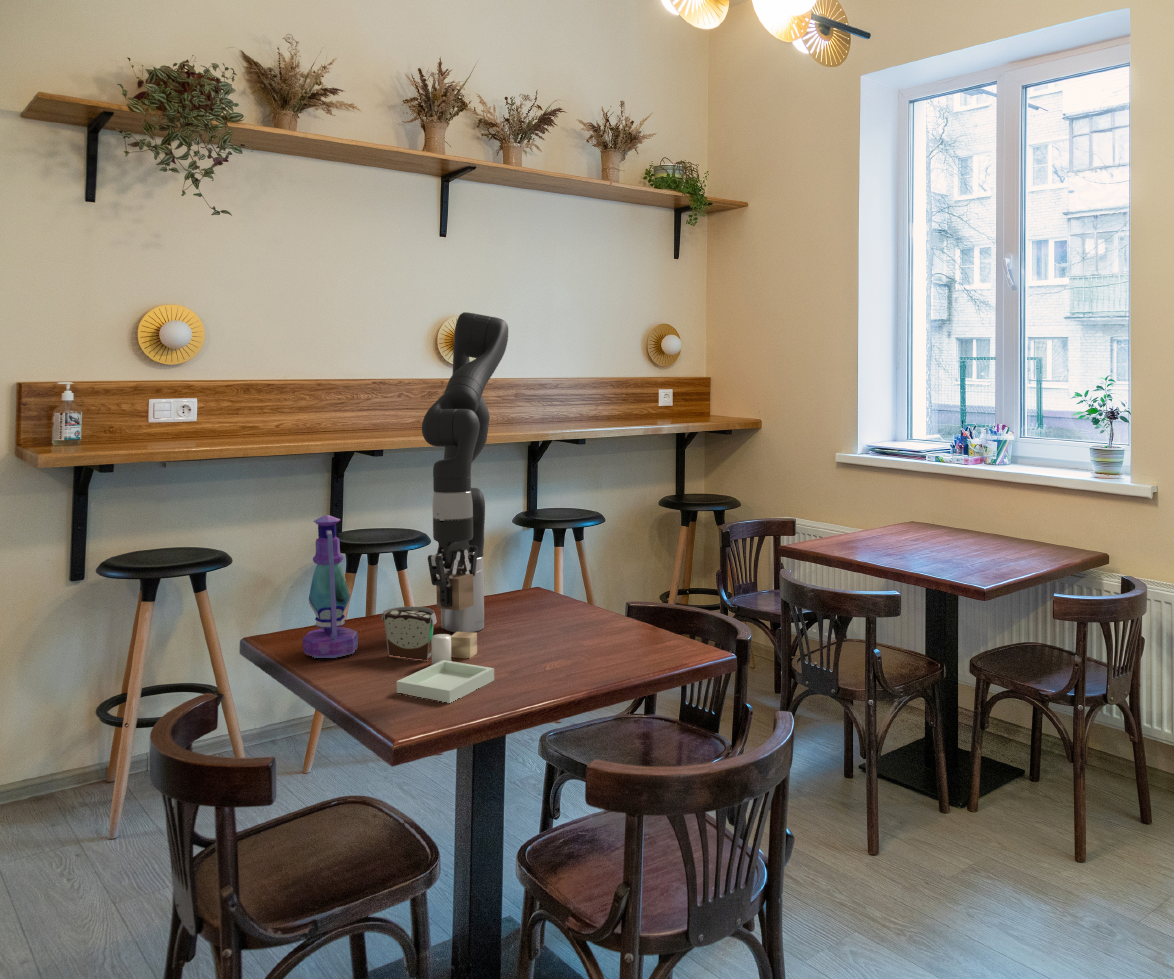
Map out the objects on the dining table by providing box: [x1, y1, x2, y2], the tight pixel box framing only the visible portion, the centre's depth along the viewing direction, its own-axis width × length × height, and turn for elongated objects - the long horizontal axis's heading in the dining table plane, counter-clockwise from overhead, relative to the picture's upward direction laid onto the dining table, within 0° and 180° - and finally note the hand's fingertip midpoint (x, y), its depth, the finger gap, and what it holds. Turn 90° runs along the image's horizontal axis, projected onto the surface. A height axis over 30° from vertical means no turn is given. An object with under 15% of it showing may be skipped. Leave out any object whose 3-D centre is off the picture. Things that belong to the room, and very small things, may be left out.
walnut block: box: [435, 573, 474, 611], centre depth 180 cm, size 5×5×6 cm
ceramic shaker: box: [431, 633, 452, 665], centre depth 194 cm, size 4×4×6 cm
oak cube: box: [451, 632, 478, 660], centre depth 202 cm, size 4×4×4 cm
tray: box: [396, 660, 495, 704], centre depth 181 cm, size 12×15×2 cm
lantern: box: [302, 514, 359, 659], centre depth 201 cm, size 13×12×30 cm
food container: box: [381, 606, 437, 661], centre depth 201 cm, size 12×6×10 cm, turn 71°
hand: (454, 603), depth 180 cm, fingers closed on walnut block, 5 cm apart
